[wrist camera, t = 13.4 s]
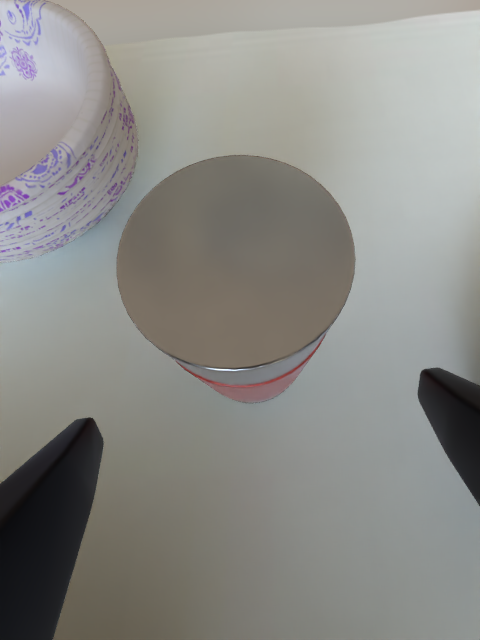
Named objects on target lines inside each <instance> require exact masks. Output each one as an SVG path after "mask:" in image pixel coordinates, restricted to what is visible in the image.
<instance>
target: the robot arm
mask: <svg viewBox="0 0 480 640" xmlns="http://www.w3.org/2000/svg"><path fill="white" fill-rule="evenodd" d="M418 399H419V402H420V404H421V406H422V408H423V410H424V412H425V414H426V416H427V418H428V420H429V422H430V424H431V426H432V428H433V430H434V432H435V434H436V436H437V437H438V439H439V441H440V443H441V445H442V447H443V449H444V451H445V453H446V454H447V456H448V458H449V459H450V461H451V462H452V464H453V466H454V467H455V469H456V470H457V472H458V473H459V475H460V476H461V478H462V479H463V481H464V483H465V484H466V486H467V487H468V489H469V490H470V492H471V493H472V495H473V496H474V498H475V500H476V501H477V503H478V504H479V506H480V386H479V385H477V384H475V383H473V382H470V381H468V380H466V379H464V378H461V377H459V376H457V375H454V374H452V373H450V372H448V371H445V370H443V369H441V368H429V369H424V370H422V371H421V373H420V380H419V387H418ZM103 447H104V441H103V437H102V435H101V433H100V431H99V429H98V427H97V425H96V422H95V421H94V419H93V418H90V417H89V418H82V419H77V420H75V421H74V422H73V423H71V424H70V425H69V426H68V427H67V428H66V429H64V430H63V431H62V432H61V433H60V434H59V435H57V436H56V437H55V438H54V439H53V440H51V441H50V442H49V443H48V444H47V445H46V446H44V447H43V448H42V449H41V450H40V451H38V452H37V453H36V454H35V455H34V456H33V457H31V458H30V459H29V460H28V461H27V462H26V463H24V464H23V465H22V466H21V467H20V468H18V469H17V470H16V471H15V472H14V473H13V474H11V475H10V476H9V477H8V478H7V479H5V480H4V481H3V482H2V483H1V484H0V640H53V637H54V634H55V630H56V627H57V623H58V620H59V617H60V613H61V610H62V606H63V603H64V600H65V596H66V593H67V589H68V586H69V583H70V579H71V576H72V572H73V569H74V566H75V562H76V559H77V555H78V552H79V549H80V545H81V542H82V538H83V535H84V532H85V528H86V525H87V522H88V518H89V515H90V511H91V508H92V504H93V500H94V495H95V490H96V485H97V480H98V474H99V469H100V463H101V458H102V453H103Z"/></svg>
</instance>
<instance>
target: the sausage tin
mask: <svg viewBox="0 0 480 640" xmlns="http://www.w3.org/2000/svg"><path fill="white" fill-rule="evenodd" d="M354 272H355V247H354V242H353V237H352V233H351V230H350V227H349V224H348V222H347V219H346V217H345V215H344V213H343V211H342V210H341V208H340V206H339V205H338V203H337V202H336V201H335V199H334V198H333V197H332V195H331V194H330V193H329V192H328V191H327V190H326V189H325V188H324V187H323V186H322V185H321V184H320V183H318V182H317V181H316V180H315V179H313V178H312V177H311V176H309V175H308V174H306V173H304V172H303V171H301V170H299V169H297V168H295V167H293V166H291V165H288V164H286V163H283V162H280V161H277V160H274V159H269V158H264V157H259V156H248V155H231V156H223V157H216V158H212V159H207V160H203V161H200V162H197V163H195V164H192V165H189V166H187V167H185V168H183V169H181V170H179V171H177V172H175V173H174V174H172V175H170V176H169V177H167V178H165V179H164V180H163V181H162V182H160V183H159V184H158V185H156V186H155V187H154V188H153V189H152V190H151V191H150V192H149V193H148V194H147V195H146V196H145V197H144V198H143V199H142V201H141V202H140V203H139V204H138V206H137V207H136V208H135V210H134V212H133V213H132V215H131V216H130V218H129V220H128V222H127V224H126V226H125V229H124V231H123V234H122V237H121V240H120V243H119V248H118V255H117V280H118V288H119V291H120V295H121V298H122V302H123V304H124V306H125V308H126V311H127V313H128V315H129V316H130V318H131V320H132V321H133V323H134V324H135V326H136V327H137V328H138V330H139V331H140V332H141V333H142V334H143V335H144V337H145V338H146V339H147V340H149V341H150V342H151V343H152V344H153V345H154V346H156V347H157V348H158V349H159V350H161V351H162V352H163V353H165V354H166V355H168V356H169V357H171V358H172V359H173V360H175V361H176V362H177V363H178V364H179V365H180V366H181V367H182V368H184V369H185V370H186V371H188V372H189V373H191V374H192V375H193V376H195V377H196V378H198V379H199V380H201V381H202V382H204V383H205V384H207V385H208V386H210V387H211V388H212V389H214V390H215V391H217V392H219V393H220V394H222V395H224V396H226V397H228V398H230V399H232V400H235V401H238V402H242V403H260V402H265V401H268V400H270V399H273V398H275V397H277V396H278V395H280V394H281V393H282V392H284V391H285V390H286V389H287V388H288V387H289V386H290V385H291V384H292V383H293V382H294V380H295V379H296V378H297V376H298V375H299V374H300V372H301V371H302V370H303V368H304V367H305V365H306V364H307V363H308V361H309V360H310V358H311V357H312V356H313V354H314V353H315V352H316V350H317V349H318V347H319V346H320V344H321V342H322V341H323V339H324V337H325V335H326V333H327V332H328V330H329V329H330V327H331V326H332V324H333V323H334V322H335V320H336V319H337V317H338V315H339V314H340V312H341V310H342V308H343V307H344V305H345V303H346V300H347V298H348V295H349V293H350V290H351V287H352V282H353V278H354Z"/></svg>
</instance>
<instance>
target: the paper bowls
mask: <svg viewBox="0 0 480 640" xmlns="http://www.w3.org/2000/svg"><path fill="white" fill-rule="evenodd" d="M137 155H138V131H137V126H136V122H135V118H134V115H133V113H132V111H131V109H130V106H129V104H128V102H127V99H126V96H125V94H124V92H123V90H122V88H121V85H120V81H119V79H118V78H117V76H116V74H115V72H114V69H113V68H112V66H111V64H110V62H109V58H108V56H107V53H106V51H105V49H104V47H103V45H102V43H101V41H100V40H99V38H98V37H97V35H95V33H94V31H93V30H92V29H91V28H90V27H89V26H88V25H87V24H86V23H85V22H84V21H83V20H82V19H80V18H79V17H78V16H77V15H75V14H74V13H72V12H71V11H69V10H67V9H65V8H63V7H61V6H59V5H57V4H54V3H52V2H48V1H45V0H0V263H4V262H12V261H20V260H25V259H31V258H34V257H37V256H42V255H44V254H46V253H48V252H51V251H54V250H56V249H58V248H60V247H63V246H64V245H66V244H67V243H70V242H72V241H74V240H75V239H76V238H77V237H79V236H82V235H83V234H84V232H85V231H87V230H89V229H91V228H92V227H93V226H94V225H95V224H97V223H98V222H99V221H100V220H101V219H102V218H104V217H105V216H106V214H107V213H108V212H109V211H110V210H111V209H112V208H113V206H114V205H115V204H116V202H118V201H119V199H120V197H121V195H122V194H123V193H124V192H125V190H126V187H127V186H128V183H129V182H130V179H131V178H132V175H133V173H134V168H135V164H136V159H137Z"/></svg>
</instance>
